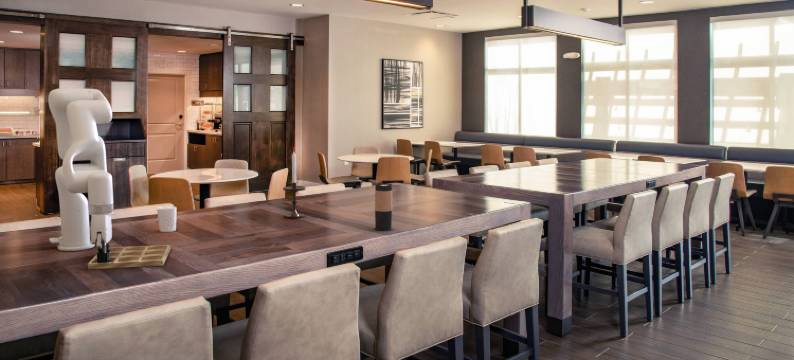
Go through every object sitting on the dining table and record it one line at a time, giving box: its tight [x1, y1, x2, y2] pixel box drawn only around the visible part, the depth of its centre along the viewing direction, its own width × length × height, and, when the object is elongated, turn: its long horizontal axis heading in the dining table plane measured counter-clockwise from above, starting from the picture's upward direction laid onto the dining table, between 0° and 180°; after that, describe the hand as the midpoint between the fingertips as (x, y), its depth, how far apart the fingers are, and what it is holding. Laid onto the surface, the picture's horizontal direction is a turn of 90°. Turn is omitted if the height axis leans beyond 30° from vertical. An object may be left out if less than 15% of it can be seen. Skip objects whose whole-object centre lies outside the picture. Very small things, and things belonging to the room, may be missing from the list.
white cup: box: [156, 205, 178, 233], centre depth 269 cm, size 8×8×10 cm
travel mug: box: [374, 183, 393, 232], centre depth 276 cm, size 8×8×20 cm
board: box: [87, 244, 171, 270], centre depth 222 cm, size 24×24×2 cm
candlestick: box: [282, 145, 307, 220], centre depth 302 cm, size 11×11×35 cm
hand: (104, 262), depth 212 cm, fingers closed on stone, 4 cm apart
